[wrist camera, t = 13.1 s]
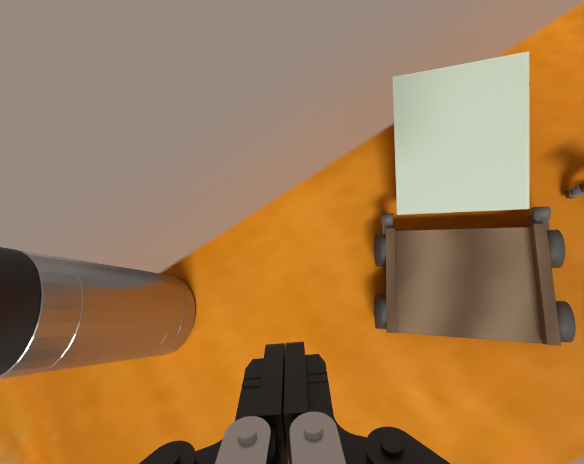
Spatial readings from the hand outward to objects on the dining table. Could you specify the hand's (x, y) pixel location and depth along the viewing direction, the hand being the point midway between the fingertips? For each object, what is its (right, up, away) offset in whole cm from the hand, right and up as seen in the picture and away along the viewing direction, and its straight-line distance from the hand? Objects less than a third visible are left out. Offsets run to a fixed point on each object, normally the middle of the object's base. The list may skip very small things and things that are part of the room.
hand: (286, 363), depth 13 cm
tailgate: (+15, +6, +15) cm, 22 cm away
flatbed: (+15, +1, +16) cm, 22 cm away
